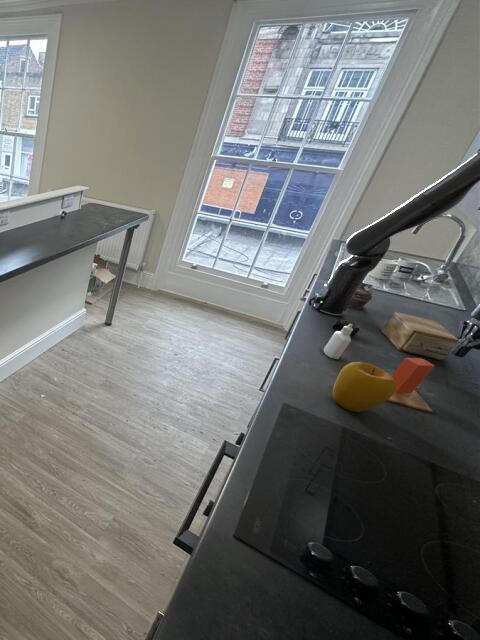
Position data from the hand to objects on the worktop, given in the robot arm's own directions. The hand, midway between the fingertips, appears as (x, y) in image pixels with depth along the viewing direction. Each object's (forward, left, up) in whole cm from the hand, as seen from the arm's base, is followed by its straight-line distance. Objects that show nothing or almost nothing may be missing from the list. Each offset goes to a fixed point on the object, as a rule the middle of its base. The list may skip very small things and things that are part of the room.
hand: (457, 355), depth 124 cm
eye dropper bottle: (-31, -6, -8) cm, 32 cm away
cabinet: (0, +20, -8) cm, 22 cm away
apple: (-35, -36, -8) cm, 51 cm away
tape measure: (-21, +16, -8) cm, 28 cm away
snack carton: (-18, -19, -7) cm, 27 cm away
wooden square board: (-19, -20, -8) cm, 28 cm away
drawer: (0, +16, -7) cm, 18 cm away
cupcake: (-9, +50, -8) cm, 52 cm away
